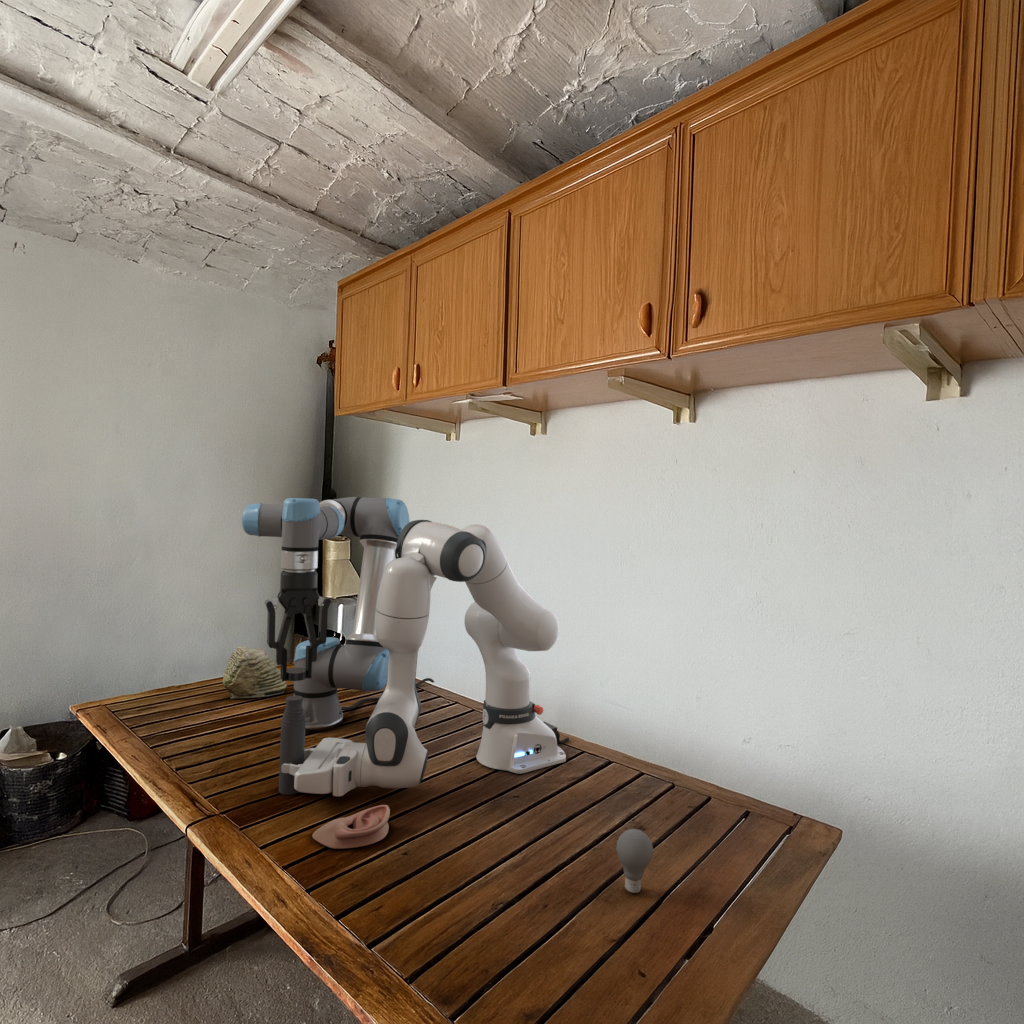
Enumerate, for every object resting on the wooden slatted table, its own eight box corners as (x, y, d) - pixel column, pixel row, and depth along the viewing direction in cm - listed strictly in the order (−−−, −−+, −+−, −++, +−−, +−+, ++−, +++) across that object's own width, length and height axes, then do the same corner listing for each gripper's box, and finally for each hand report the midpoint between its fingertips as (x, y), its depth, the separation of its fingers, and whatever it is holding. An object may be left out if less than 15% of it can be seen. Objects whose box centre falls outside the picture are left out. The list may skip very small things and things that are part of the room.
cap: (292, 673, 139) (292, 666, 139) (311, 676, 138) (311, 668, 138) (280, 679, 135) (280, 672, 135) (299, 682, 134) (299, 674, 134)
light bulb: (610, 879, 108) (613, 822, 108) (644, 879, 109) (647, 822, 109) (619, 902, 102) (622, 840, 102) (655, 901, 103) (658, 840, 103)
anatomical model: (304, 822, 115) (334, 794, 126) (303, 844, 115) (333, 813, 126) (372, 833, 112) (397, 803, 124) (371, 855, 113) (396, 823, 124)
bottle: (300, 794, 134) (303, 701, 134) (275, 794, 134) (279, 701, 133) (305, 784, 139) (308, 694, 139) (281, 784, 139) (285, 694, 138)
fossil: (218, 695, 195) (220, 647, 195) (278, 685, 208) (279, 640, 207) (228, 703, 189) (230, 653, 188) (289, 692, 201) (290, 645, 201)
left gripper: (258, 573, 128) (254, 687, 129) (344, 571, 137) (341, 678, 137) (253, 568, 135) (249, 677, 135) (336, 567, 143) (332, 669, 144)
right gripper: (364, 731, 147) (304, 729, 147) (339, 769, 126) (270, 766, 126) (362, 758, 147) (303, 756, 147) (338, 800, 126) (269, 797, 126)
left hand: (295, 677), depth 136 cm, fingers closed on cap, 4 cm apart
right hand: (287, 761), depth 136 cm, fingers closed on bottle, 5 cm apart
